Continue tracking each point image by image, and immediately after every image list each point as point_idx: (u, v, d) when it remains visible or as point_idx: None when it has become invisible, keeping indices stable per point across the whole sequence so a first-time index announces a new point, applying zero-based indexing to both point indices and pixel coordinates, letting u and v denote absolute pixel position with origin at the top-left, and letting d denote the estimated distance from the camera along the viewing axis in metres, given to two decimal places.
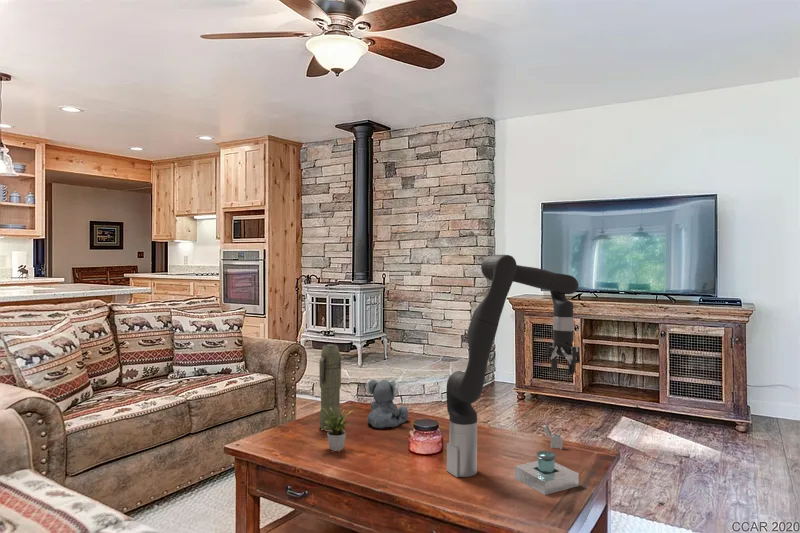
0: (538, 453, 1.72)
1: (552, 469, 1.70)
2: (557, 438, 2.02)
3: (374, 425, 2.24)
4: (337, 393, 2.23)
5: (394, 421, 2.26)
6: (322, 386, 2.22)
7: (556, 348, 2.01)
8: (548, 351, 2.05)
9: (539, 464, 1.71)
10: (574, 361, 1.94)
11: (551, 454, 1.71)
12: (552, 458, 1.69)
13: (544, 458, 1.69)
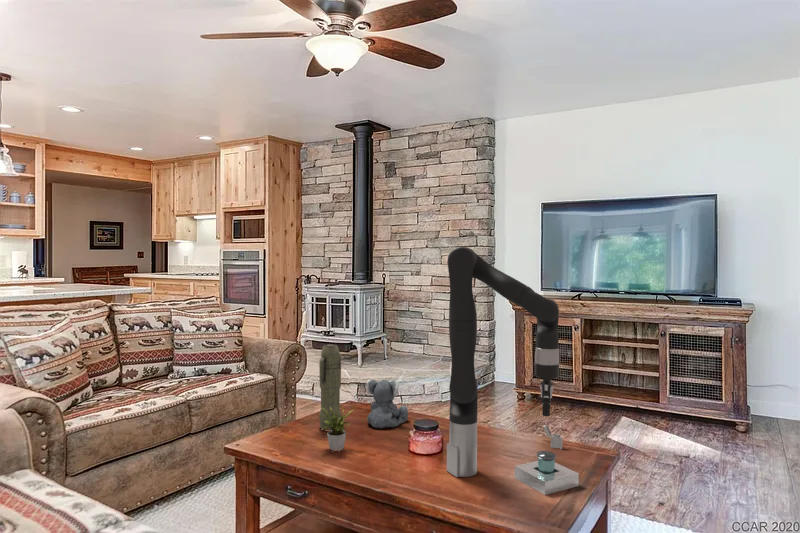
0: (538, 453, 1.72)
1: (552, 469, 1.70)
2: (557, 438, 2.02)
3: (374, 425, 2.24)
4: (337, 393, 2.23)
5: (394, 421, 2.26)
6: (322, 386, 2.22)
7: (552, 386, 1.69)
8: (550, 396, 1.65)
9: (539, 464, 1.71)
10: None
11: (551, 454, 1.71)
12: (552, 458, 1.69)
13: (544, 458, 1.69)
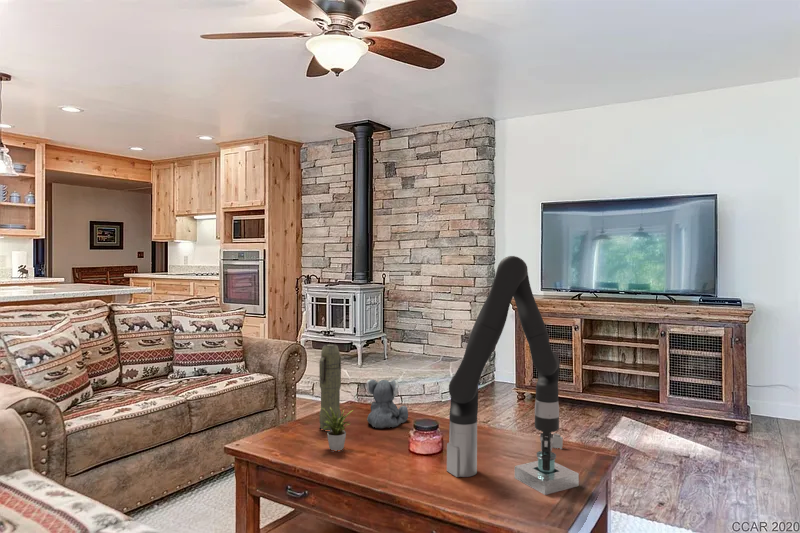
0: (538, 453, 1.72)
1: (552, 469, 1.70)
2: (557, 438, 2.02)
3: (374, 425, 2.24)
4: (337, 393, 2.23)
5: (394, 421, 2.26)
6: (322, 386, 2.22)
7: (552, 439, 1.70)
8: (550, 451, 1.66)
9: (539, 464, 1.71)
10: None
11: (550, 454, 1.71)
12: (552, 458, 1.69)
13: None
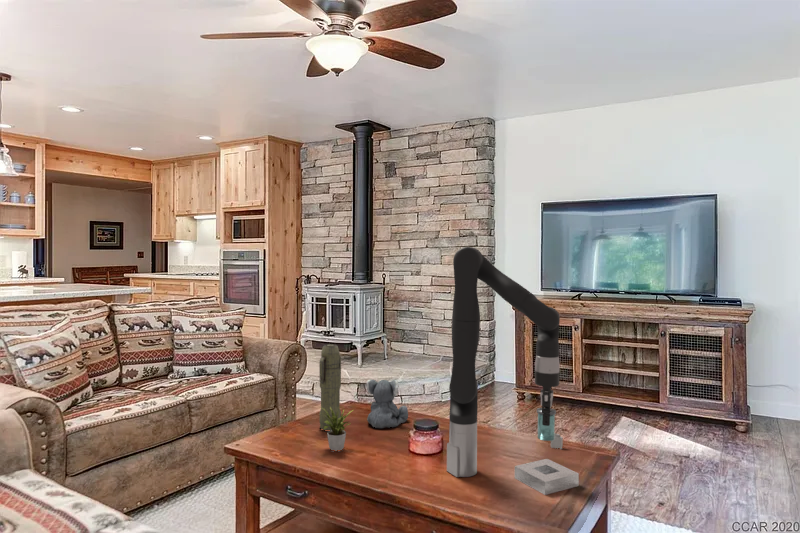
0: (538, 409, 1.72)
1: (552, 424, 1.69)
2: (557, 438, 2.02)
3: (374, 425, 2.24)
4: (337, 393, 2.23)
5: (394, 421, 2.26)
6: (322, 386, 2.22)
7: None
8: (550, 406, 1.66)
9: (539, 420, 1.71)
10: None
11: (551, 410, 1.71)
12: (552, 413, 1.69)
13: None
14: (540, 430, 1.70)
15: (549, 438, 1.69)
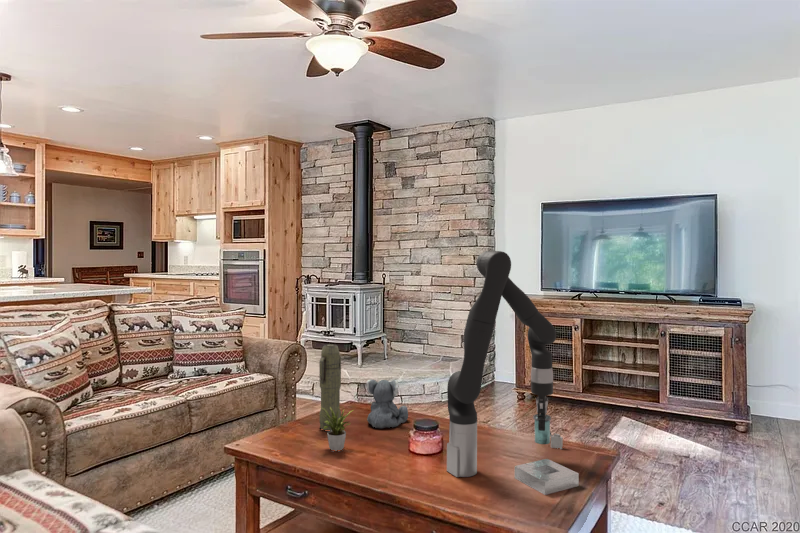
0: (535, 416, 1.90)
1: (547, 429, 1.87)
2: (557, 438, 2.02)
3: (374, 425, 2.24)
4: (337, 393, 2.23)
5: (394, 421, 2.26)
6: (322, 386, 2.22)
7: (547, 402, 1.87)
8: (545, 413, 1.83)
9: (536, 425, 1.88)
10: None
11: (546, 416, 1.89)
12: (547, 419, 1.86)
13: None
14: (537, 434, 1.88)
15: (545, 442, 1.87)
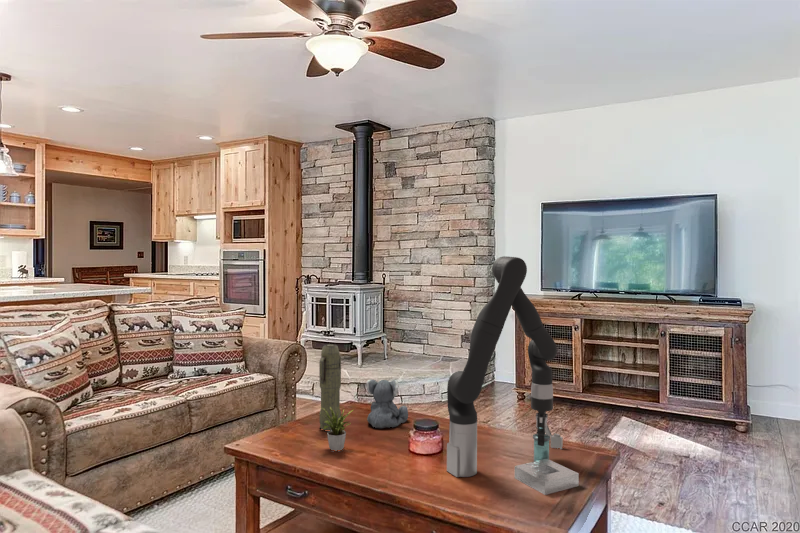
0: (534, 435, 1.90)
1: (547, 449, 1.87)
2: (557, 438, 2.02)
3: (374, 425, 2.24)
4: (337, 393, 2.23)
5: (394, 421, 2.26)
6: (322, 386, 2.22)
7: (547, 418, 1.87)
8: (544, 428, 1.83)
9: (535, 445, 1.88)
10: None
11: (545, 436, 1.89)
12: (547, 439, 1.86)
13: None
14: (536, 454, 1.88)
15: None
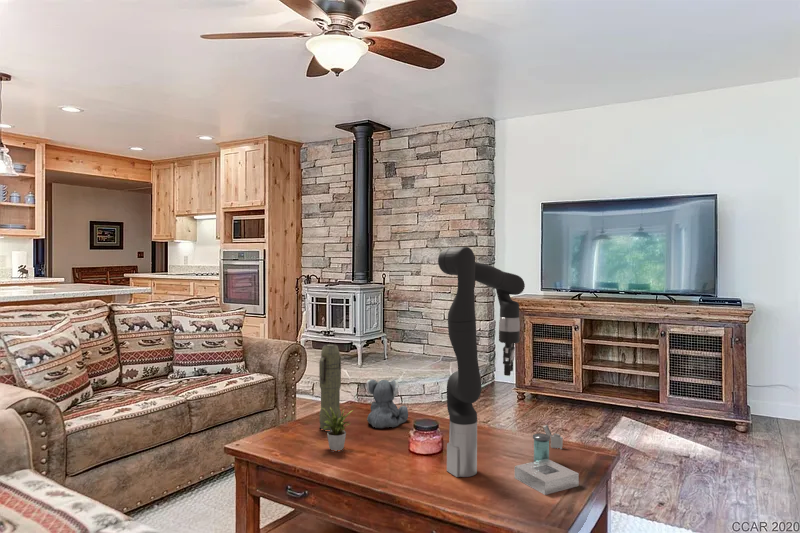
0: (534, 435, 1.90)
1: (547, 449, 1.87)
2: (557, 438, 2.02)
3: (374, 425, 2.24)
4: (337, 393, 2.23)
5: (394, 421, 2.26)
6: (322, 386, 2.22)
7: (513, 350, 1.96)
8: (510, 358, 1.92)
9: (535, 445, 1.88)
10: None
11: (545, 436, 1.89)
12: (547, 439, 1.86)
13: (539, 439, 1.86)
14: (536, 454, 1.88)
15: None
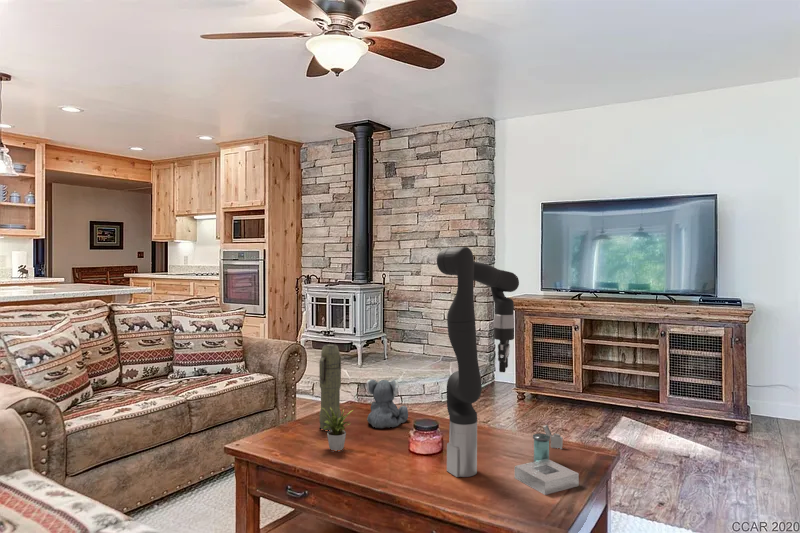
0: (534, 435, 1.90)
1: (547, 449, 1.87)
2: (557, 438, 2.02)
3: (374, 425, 2.24)
4: (337, 393, 2.23)
5: (394, 421, 2.26)
6: (322, 386, 2.22)
7: (508, 347, 1.98)
8: (505, 354, 1.93)
9: (535, 445, 1.88)
10: None
11: (545, 436, 1.89)
12: (547, 439, 1.86)
13: (539, 439, 1.86)
14: (536, 454, 1.88)
15: None
